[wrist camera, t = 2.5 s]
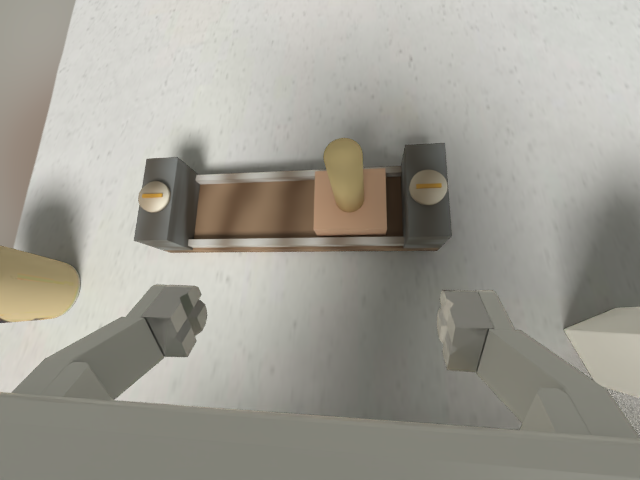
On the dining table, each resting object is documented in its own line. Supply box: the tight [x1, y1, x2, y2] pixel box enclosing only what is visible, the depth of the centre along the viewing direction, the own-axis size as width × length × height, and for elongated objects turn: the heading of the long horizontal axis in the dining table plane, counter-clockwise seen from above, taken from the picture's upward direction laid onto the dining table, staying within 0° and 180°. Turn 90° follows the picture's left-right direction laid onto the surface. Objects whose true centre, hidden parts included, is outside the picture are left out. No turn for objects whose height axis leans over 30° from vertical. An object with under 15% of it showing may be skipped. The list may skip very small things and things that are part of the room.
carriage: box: [313, 138, 387, 236], centre depth 33 cm, size 8×7×13 cm
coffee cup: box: [0, 246, 80, 323], centre depth 39 cm, size 9×9×12 cm
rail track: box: [134, 143, 452, 253], centre depth 38 cm, size 34×10×8 cm, turn 89°
